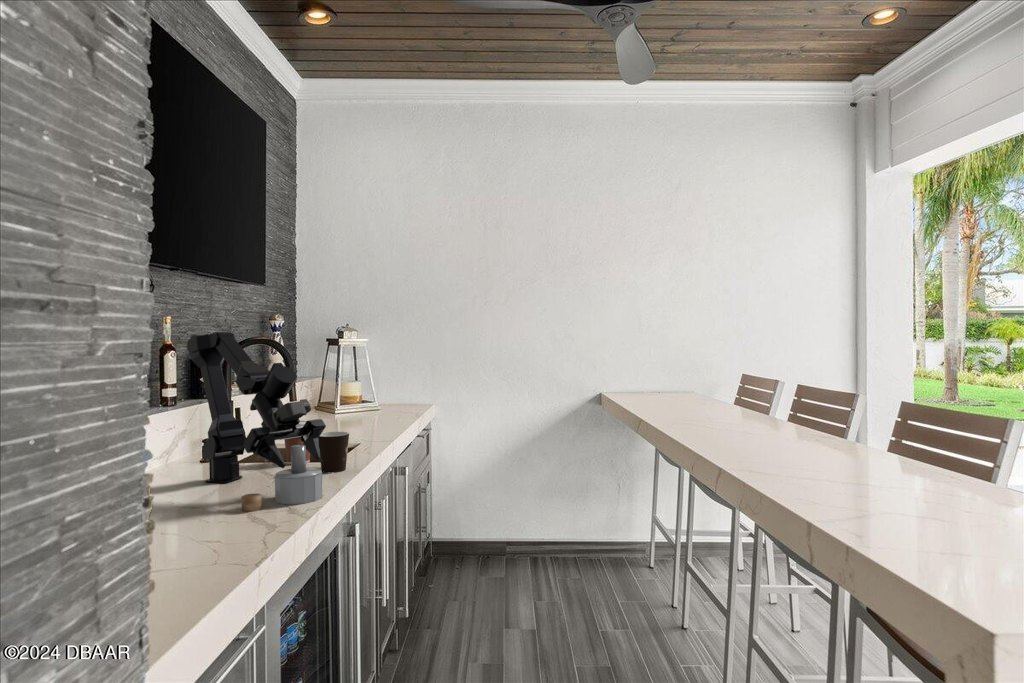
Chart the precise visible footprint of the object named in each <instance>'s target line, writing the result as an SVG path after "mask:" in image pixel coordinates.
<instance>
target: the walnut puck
mask: <svg viewBox="0 0 1024 683" xmlns="http://www.w3.org/2000/svg"><path fill="white" fill-rule="evenodd" d="M262 498H263V496H262V494H261V493H247V494H244V495H241V500H240V501H241V511H242V513H243V512H244V513H254V512H258V511H261V510H262V509H263V506H262V505H263V501H262Z"/></svg>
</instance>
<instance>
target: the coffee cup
mask: <svg viewBox="0 0 1024 683" xmlns="http://www.w3.org/2000/svg"><path fill="white" fill-rule="evenodd" d="M299 420H300V422H299V424H297V425H296V428H302V427H303V426H304V424H305V423H306V421H308V420H306V419H305V420H304V419H299ZM303 443H304V442H302V441H301V440H300V438H299V437H296V438H290V439H284V448H285V458H286V464H287V465H290V464H291V446H294V445H303ZM310 459H311V454H310V453H309V452H308V450H307V449H306V464H309V463H310V462H311V460H310Z"/></svg>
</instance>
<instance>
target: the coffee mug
mask: <svg viewBox="0 0 1024 683" xmlns="http://www.w3.org/2000/svg"><path fill="white" fill-rule="evenodd" d="M349 438H350V432H348V431H325V432H322V433H321V435H320V436H319V450H320V457H321V458H320V460H319V461H320V467H321V468H320V469H321V470H322V471H324V472H323V473H326V472H334V473H340V472H344V471H346V470H347V469H346V468H347V460H348V450H349V449H348V448H349V440H350V439H349Z"/></svg>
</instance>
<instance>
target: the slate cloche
mask: <svg viewBox="0 0 1024 683" xmlns="http://www.w3.org/2000/svg"><path fill="white" fill-rule="evenodd" d="M274 474H275V475H274V496H275V497H274V498H275V499H274V500H275V501H274V502H275V503H277V504H280V505H301V504H302V505H303V504H309V503H313V502H317V501H318V500H321V499H322V498H323V472H322V469H321V468H319V467H307V463H306V445H294V446H291V465H290V468H288V469H283V470H280V471H276V473H274Z"/></svg>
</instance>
